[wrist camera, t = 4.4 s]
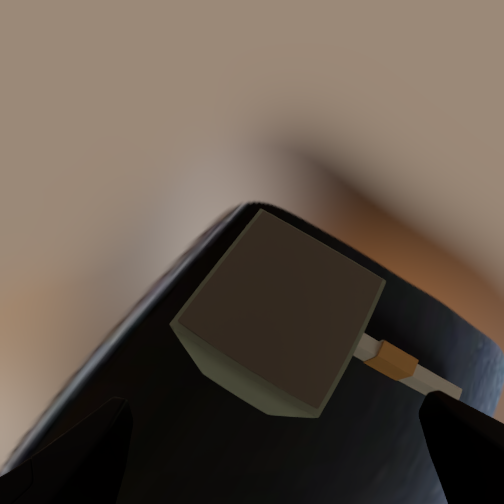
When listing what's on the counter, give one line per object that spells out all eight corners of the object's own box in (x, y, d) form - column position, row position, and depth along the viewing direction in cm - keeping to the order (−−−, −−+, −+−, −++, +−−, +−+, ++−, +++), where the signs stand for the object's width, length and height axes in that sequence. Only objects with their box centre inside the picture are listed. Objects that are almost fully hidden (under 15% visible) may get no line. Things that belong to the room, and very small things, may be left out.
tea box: (307, 350, 20) (391, 274, 10) (267, 414, 18) (320, 417, 7) (245, 313, 21) (263, 201, 11) (203, 373, 19) (167, 321, 8)
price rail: (448, 389, 19) (466, 384, 17) (442, 405, 18) (461, 402, 16) (266, 283, 23) (270, 268, 20) (255, 298, 22) (258, 285, 20)
